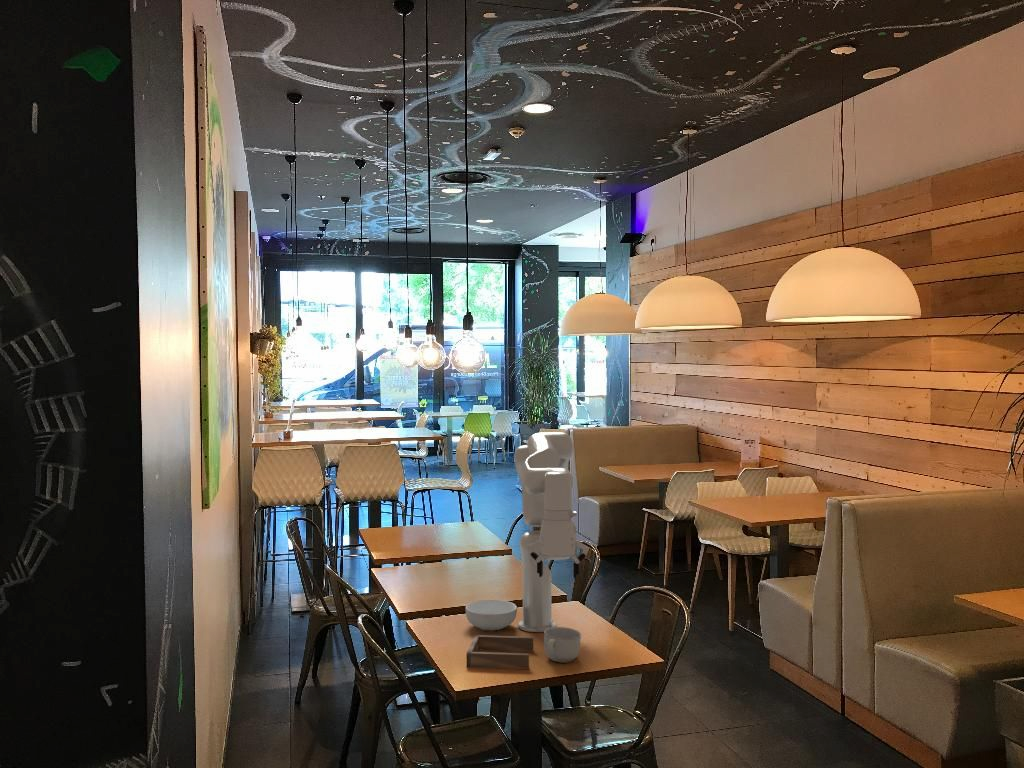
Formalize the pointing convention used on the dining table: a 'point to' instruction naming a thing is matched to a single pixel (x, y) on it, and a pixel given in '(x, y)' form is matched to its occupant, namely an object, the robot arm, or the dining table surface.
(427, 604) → the dining table surface
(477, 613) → the cereal bowl
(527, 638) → the walnut bay
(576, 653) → the teacup
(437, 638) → the dining table surface
